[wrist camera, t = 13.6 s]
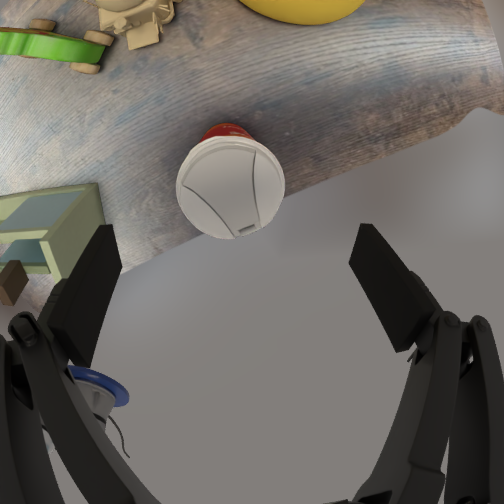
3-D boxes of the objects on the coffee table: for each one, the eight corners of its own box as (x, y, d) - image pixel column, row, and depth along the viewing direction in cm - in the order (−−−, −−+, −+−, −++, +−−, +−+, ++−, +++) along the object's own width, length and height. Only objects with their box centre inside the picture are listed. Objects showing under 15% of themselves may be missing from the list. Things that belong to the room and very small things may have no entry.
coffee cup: (269, 163, 33) (302, 222, 21) (209, 187, 34) (204, 259, 22) (245, 101, 28) (265, 119, 16) (179, 130, 30) (151, 170, 17)
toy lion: (121, 36, 21) (54, 17, 9) (101, 76, 24) (25, 86, 11) (32, 17, 15) (-44, 14, 3) (17, 53, 18) (-62, 65, 5)
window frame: (107, 234, 36) (73, 303, 25) (0, 239, 33) (-40, 291, 22) (97, 182, 32) (47, 241, 20) (-14, 199, 29) (-62, 247, 17)
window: (83, 231, 34) (37, 309, 22) (33, 234, 32) (-16, 302, 20) (78, 212, 32) (26, 287, 20) (27, 217, 31) (-27, 283, 19)
